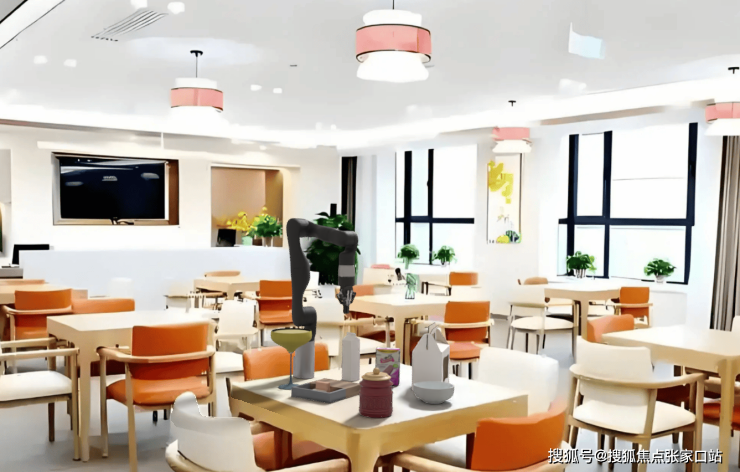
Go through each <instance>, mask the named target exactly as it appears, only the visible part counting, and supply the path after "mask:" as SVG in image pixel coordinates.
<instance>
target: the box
mask: <svg viewBox="0 0 740 472" xmlns="http://www.w3.org/2000/svg"><path fill="white" fill-rule="evenodd" d="M290 393H291V396H290V397H291V398H292V397H293V398H297V399H303V400H309V401H313V400H314V401H313V402H318V403H319V402H321V403H324V402H325V403H326V404H333V403H336V402H339V401H342V400H344V399H347V398H346V389H344V388H343V389H340V390H337V391H333V392H330V393H329V392H323V391H317V390H311V389H310V383H309V382H306V383H305V382H304V383H302V384H299V385H297V386H294V387H291V390H290Z"/></svg>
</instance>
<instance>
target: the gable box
mask: <svg viewBox="0 0 740 472" xmlns="http://www.w3.org/2000/svg"><path fill="white" fill-rule="evenodd" d="M438 327H439V324H438V325H436V322H432V323H430V325H428V326H427V332H426V333H423V335H422V336H421V338H420V339H419V341H418V342H417V344H416V346H415V347H414V348H413V350H412V352H411V391H413V392H414V390H413V384H414V383H417V382H424V381H438V382H446V383H450V354H451V353H450V352H451V351H450V350H451V349H450V347H451V345H450V344H449V342H448V341H447V339H446V337H445V336H444V335H443V334H442V332H441V330H440V329H439V328H438Z"/></svg>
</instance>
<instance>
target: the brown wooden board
mask: <svg viewBox="0 0 740 472" xmlns="http://www.w3.org/2000/svg"><path fill="white" fill-rule="evenodd" d="M316 381H323V382H330V392H333V391H337V390H340V389H343V388H344V389H346V399H348V398H351V397H355V396H357V395H360V393H359V391H360V388H361V386H360V384H359V383H358V382H354V381H351V382H350V381H345V380H339V379H333V378H327V377H326V378H325V377H324V378H321V379H317V380H313V381H312V380H311V381H309V382H308V383H310V389H311V390H313V389H316Z"/></svg>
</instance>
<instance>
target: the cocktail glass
mask: <svg viewBox="0 0 740 472" xmlns="http://www.w3.org/2000/svg"><path fill="white" fill-rule="evenodd" d="M311 338H312V332H311V330H309V329H304V327H301V328H300V327H282V328H274V329H271V330H270V339H271V341H272V342H273V343H274V344H276V345H278V346H280V347H281V348H283V349H285V350H286V351H287V352H288V354H289V355H290V356H289V361H290V362H289V367H290V368H289V381H288V383H285V384H280V385H278V386H277V388H278V389H281V390H286V391H291V387H294V386H297V385H300V384H297V383H293V378H292V377H293V362H292V361H293V357H292V354H295V350H296V349H297V348H299V347H300V346H302V345H304V344H306V343H308V342H309V341H310V340H311Z"/></svg>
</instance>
